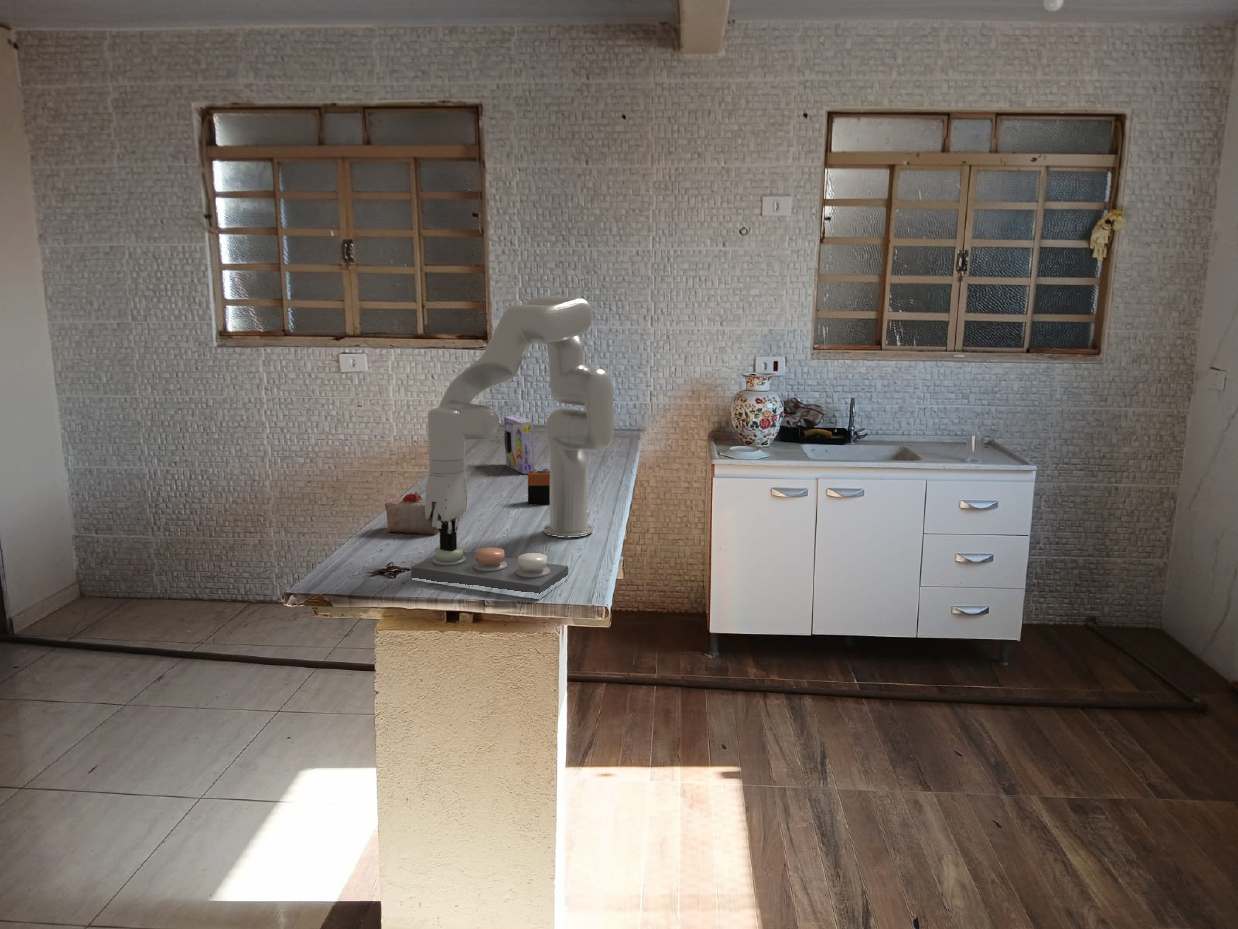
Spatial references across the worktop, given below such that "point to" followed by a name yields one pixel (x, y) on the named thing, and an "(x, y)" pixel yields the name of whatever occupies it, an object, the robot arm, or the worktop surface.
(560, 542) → the worktop surface
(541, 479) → the battery
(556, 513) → the robot arm
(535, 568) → the button white
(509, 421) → the cake pan box
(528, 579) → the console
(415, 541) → the worktop surface
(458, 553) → the button green
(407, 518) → the food item
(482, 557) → the button terracotta
